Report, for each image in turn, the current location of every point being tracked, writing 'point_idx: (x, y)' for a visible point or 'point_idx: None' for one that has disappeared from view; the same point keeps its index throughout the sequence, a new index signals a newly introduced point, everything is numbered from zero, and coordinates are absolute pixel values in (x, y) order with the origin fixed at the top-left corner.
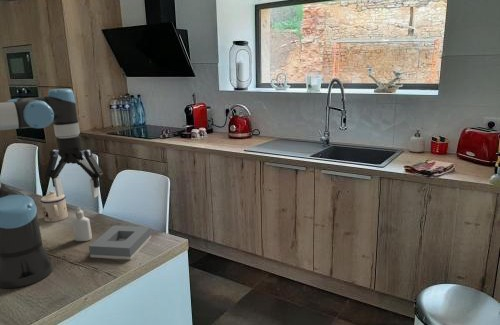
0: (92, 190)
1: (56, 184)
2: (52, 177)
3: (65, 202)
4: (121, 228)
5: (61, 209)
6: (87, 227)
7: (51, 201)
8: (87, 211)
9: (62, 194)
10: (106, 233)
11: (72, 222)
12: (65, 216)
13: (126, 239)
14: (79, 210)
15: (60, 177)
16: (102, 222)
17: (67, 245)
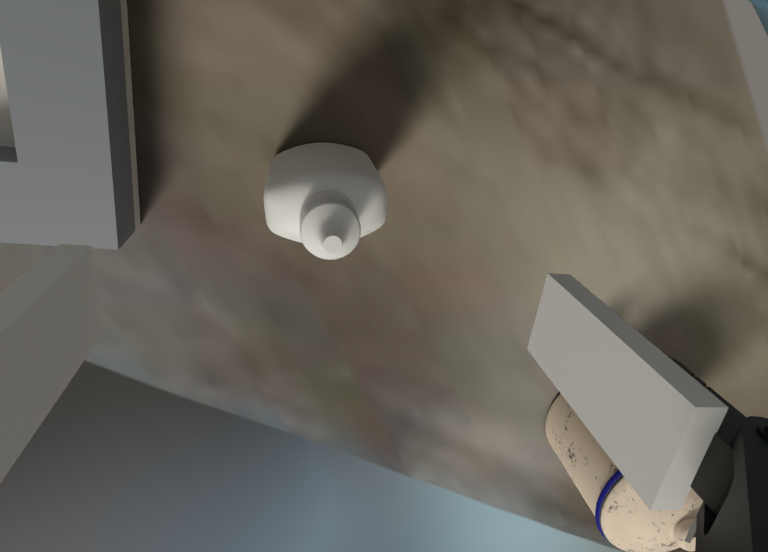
0: (26, 286)
1: (634, 351)
2: (764, 429)
3: (583, 494)
4: (21, 201)
5: (581, 438)
6: (269, 176)
7: None
8: (468, 492)
9: (532, 335)
10: (87, 112)
11: (380, 180)
12: (550, 419)
13: None
14: (322, 227)
15: (643, 498)
16: (321, 384)
17: (382, 86)
